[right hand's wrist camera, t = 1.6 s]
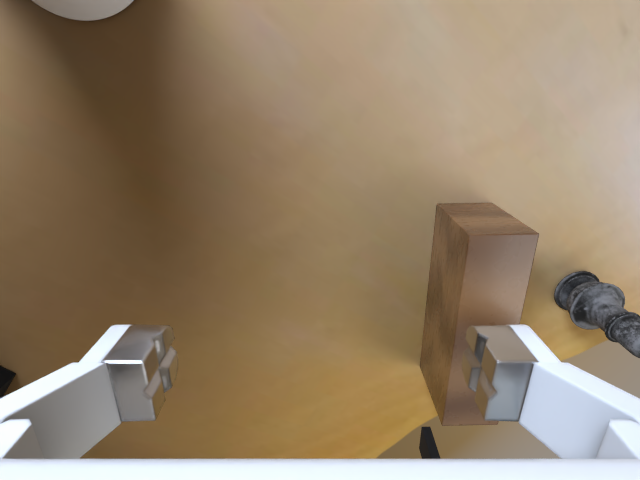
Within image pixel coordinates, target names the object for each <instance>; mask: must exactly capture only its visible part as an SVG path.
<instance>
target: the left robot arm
mask: <svg viewBox="0 0 640 480" xmlns="http://www.w3.org/2000/svg"><path fill="white" fill-rule="evenodd" d="M419 449H420V453H421V456H422V459H440V456H439V453H438V450H437V447H436V444H435V440H434V437H433V434H432V431H431V428H430V427H422V430H421V438H420V446H419Z"/></svg>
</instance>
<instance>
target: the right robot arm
mask: <svg viewBox="0 0 640 480" xmlns="http://www.w3.org/2000/svg"><path fill="white" fill-rule="evenodd" d="M32 1H33V2H34V3H36V4H37V5H39V6H40V7H42V8H44V9H46V10H48V11H49V12H51V13H54V14H56V15H59V16H62V17H65V18H69V19H74V20H81V21H91V20H100V19H104V18H107V17H110V16H113V15H115V14H117V13H119V12H120V11H122V10H123V9H125V8H126V7H127V6H129V5H130V4H131V3H132V2H133V1H134V0H32ZM174 339H175V338H174V333H173V328H172V327H170V326H169V325H113V326H111V327H110V328H109V329H108V330H107V331H106V332H105V333H104V335H103V336H102V337H101V338H100V339H99V340H98V341H97V342H96V344H95V345H94V346H93V347H92V348H91V349H90V350H89V351H88V353H87V354H86V355H85V356H84V357H83V358H82V359H81V360H80V362H79V363H71V364H69V365H67V366H65V367H63V368H61V369H59V370H57V371H55V372H53V373H51V374H49V375H47V376H45V377H43V378H41V379H39V380H37V381H35V382H33V383H31V384H29V385H26V386H24V387H22V388H20V389H18V390H16V391H14V392H12V393H10V394H8V395H6V396H4V397H2V398H0V480H640V399H639V398H637V397H635V396H633V395H631V394H629V393H627V392H625V391H623V390H621V389H619V388H617V387H615V386H613V385H611V384H609V383H607V382H605V381H603V380H601V379H599V378H597V377H595V376H593V375H591V374H589V373H587V372H585V371H583V370H581V369H579V368H577V367H575V366H573V365H571V364H569V363H561V362H560V360H559V359H558V358H557V357H556V356H555V355H554V354H553V353H552V351H551V350H550V349H549V348H548V347H547V346H546V345H545V344H544V342H543V341H542V340H541V339H540V338H539V337H538V336H537V335H536V333H535V332H534V331H533V330H532V329H531V328H530V327H529V326H527V325H525V324H519V325H493V326H469V327H468V329H467V332H466V338H465V339H466V341H467V342H468V344H469V347H468V348H467V349H466V350H465V351H464V352H463V356H462V372H463V376H464V379H465V382H466V384H467V386H468V388H470V389H471V390H473V391H474V392H476V395H475V402H476V404H477V406H478V408H479V410H480V412H481V414H482V416H483V418H484V420H485V421H519V424H520V425H522V426H523V427H524V428H525V429H526V430H528V431H529V432H530V433H531V434H532V435H534V436H535V437H536V438H537V439H538V440H540V441H541V442H542V443H543V444H544V445H546V446H547V447H548V448H549V449H550V450H551V451H553V452H554V453H555V454H556V455H557V456H559V457H560V458H561V459H79V458H80V457H81V456H83V455H84V454H85V453H86V452H87V451H89V450H90V449H91V448H92V447H93V446H95V445H96V444H97V443H98V442H99V441H101V440H102V439H103V438H104V437H105V436H107V435H108V434H109V433H110V432H111V431H113V430H114V429H115V428H116V427H117V426H119V425H120V424H121V421H154V420H156V418H157V416H158V414H159V412H160V410H161V408H162V406H163V404H164V402H165V395H164V393H165V392H166V391H167V390H169V389H170V388H172V386H173V384H174V382H175V380H176V376H177V371H178V356H177V352H176V351H175V350H174V349H173V348H172V347H171V344H172V342H173V341H174Z"/></svg>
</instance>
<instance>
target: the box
mask: <svg viewBox="0 0 640 480" xmlns="http://www.w3.org/2000/svg"><path fill="white" fill-rule="evenodd" d="M538 237H539V233H537V232H536V231H534V230H533V229H531V228H530V227H528V226H526V225H525V224H523V223H522V222H520V221H519V220H517V219H516V218H514V217H513V216H511V215H510V214H508V213H507V212H505V211H504V210H502V209H501V208H499V207H498V206H496V205H494V204H493V203H454V204H437V208H436V217H435V227H434V236H433V246H432V256H431V265H430V275H429V284H428V294H427V303H426V313H425V322H424V332H423V341H422V351H421V361H420V368H421V371H422V373H423V376H424V379H425V381H426V384H427V387H428V389H429V392H430V395H431V397H432V400H433V403H434V405H435V408H436V411H437V413H438V416H439V419H440V421H441V424H442V426H453V425H497V424H498V421H485V420H484V418H483V416H482V414H481V412H480V410H479V408H478V406H477V404H476V402H475V395H476V392H474V391H473V390H471V389H470V388H468V386H467V384H466V382H465V379H464V376H463V372H462V356H463V352H464V351H465V350H466V349H467V348H468V347H469V344H468V342H467V341H466V339H465V338H466V332H467V329H468V327H469V326H493V325H519V324H520V320H521V315H522V310H523V306H524V301H525V296H526V292H527V287H528V283H529V278H530V273H531V269H532V264H533V260H534V255H535V250H536V246H537V241H538Z"/></svg>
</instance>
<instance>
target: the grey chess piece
mask: <svg viewBox="0 0 640 480" xmlns="http://www.w3.org/2000/svg"><path fill="white" fill-rule="evenodd" d="M554 296H555V301H556V303H557V304H558V305H559V306H560V307H561V308H563V309H565V310H568V311H569V314H570V317H571V319H572V321H573V322H574V323H575V324H576V325H577V326H579V327H581V328H583V329H598V328H601V329H602V330H603V331H604V332H605V335H606V337H607V338H608V339H609V340H610V341H613V342H618V343H620V344H621V345H622V346H623V347H624V348H625V349H627V350H628V351H629V352H630V353H632V354H633V355H634V356H636V357H638V358H640V316H639V315H638V314H636V313H633V312H628V311H627V310H625V309H624V304H625V297H624V294H623V292H622V291H621V290H620V288H618V287H617V286H615V285H612V284H608V283H602V282H599V279H598V278H597V277H596V276H595V275H594V274H592V273H590V272H585V271H581V272H575V273H572V274H570V275H568V276H566V277H565V278H564V279H563V280H562V281H561V282H560V283H559V284H558V286H557V288H556V289H555V294H554Z"/></svg>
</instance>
